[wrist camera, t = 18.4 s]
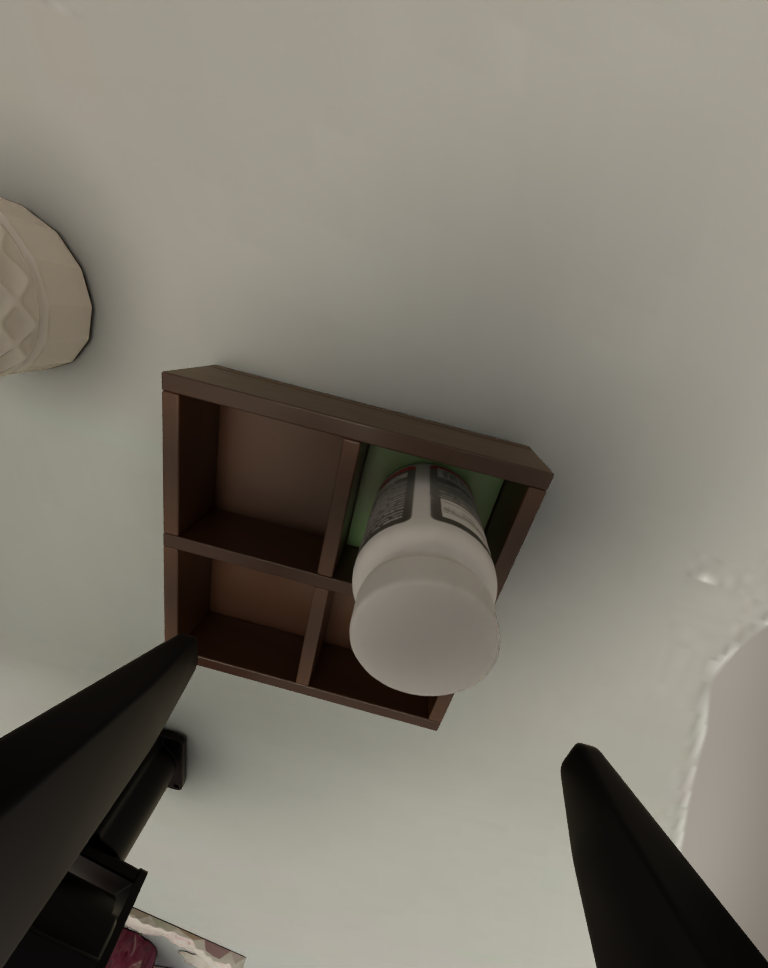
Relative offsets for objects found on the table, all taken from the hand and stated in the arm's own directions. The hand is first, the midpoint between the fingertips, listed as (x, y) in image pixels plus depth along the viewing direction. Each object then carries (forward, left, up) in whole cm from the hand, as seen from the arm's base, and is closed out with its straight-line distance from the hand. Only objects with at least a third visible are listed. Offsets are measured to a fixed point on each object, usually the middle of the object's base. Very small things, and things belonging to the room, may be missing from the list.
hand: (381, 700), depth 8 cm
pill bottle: (0, -1, -10) cm, 10 cm away
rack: (-3, +3, -11) cm, 12 cm away
